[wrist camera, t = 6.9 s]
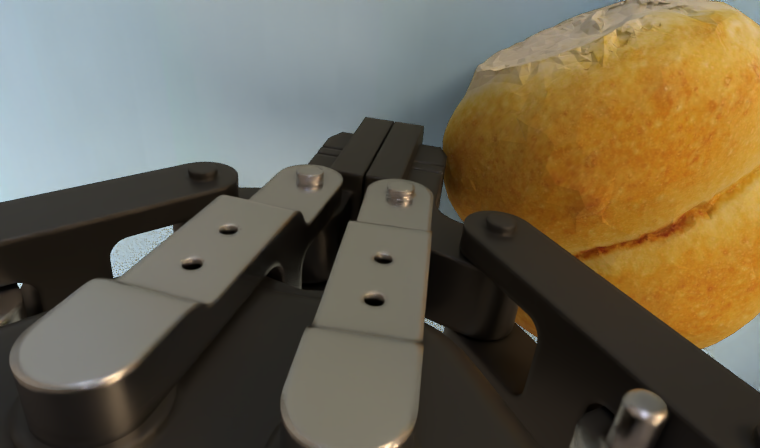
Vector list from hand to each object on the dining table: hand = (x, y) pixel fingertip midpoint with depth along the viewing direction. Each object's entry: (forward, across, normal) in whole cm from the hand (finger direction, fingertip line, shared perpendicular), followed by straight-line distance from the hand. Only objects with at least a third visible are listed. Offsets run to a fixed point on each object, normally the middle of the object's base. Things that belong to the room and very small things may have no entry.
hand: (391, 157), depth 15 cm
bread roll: (+2, -6, 0) cm, 6 cm away
